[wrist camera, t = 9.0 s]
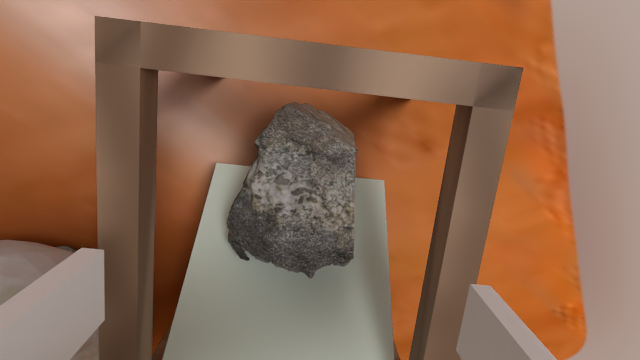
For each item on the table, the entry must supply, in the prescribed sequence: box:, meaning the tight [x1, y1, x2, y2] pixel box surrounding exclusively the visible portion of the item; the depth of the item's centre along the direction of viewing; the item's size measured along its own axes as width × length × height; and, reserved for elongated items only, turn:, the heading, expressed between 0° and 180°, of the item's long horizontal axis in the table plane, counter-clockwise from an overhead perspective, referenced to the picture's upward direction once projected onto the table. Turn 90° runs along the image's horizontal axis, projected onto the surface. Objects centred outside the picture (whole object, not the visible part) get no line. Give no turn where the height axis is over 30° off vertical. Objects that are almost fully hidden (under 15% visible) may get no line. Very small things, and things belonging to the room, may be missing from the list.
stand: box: [95, 16, 523, 360], centre depth 28 cm, size 18×23×18 cm
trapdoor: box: [162, 163, 394, 360], centre depth 26 cm, size 13×23×3 cm
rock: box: [227, 102, 357, 279], centre depth 27 cm, size 13×9×6 cm
